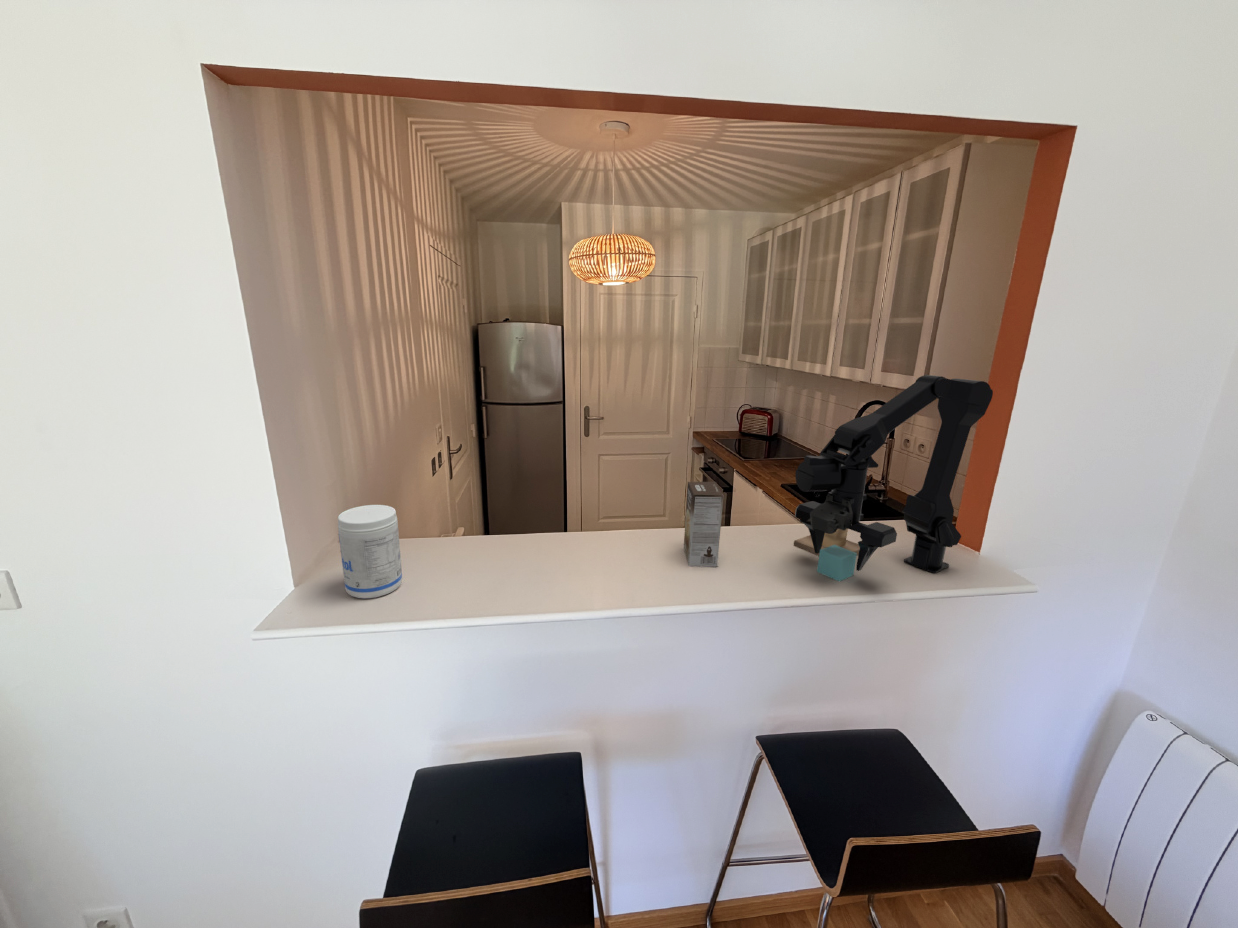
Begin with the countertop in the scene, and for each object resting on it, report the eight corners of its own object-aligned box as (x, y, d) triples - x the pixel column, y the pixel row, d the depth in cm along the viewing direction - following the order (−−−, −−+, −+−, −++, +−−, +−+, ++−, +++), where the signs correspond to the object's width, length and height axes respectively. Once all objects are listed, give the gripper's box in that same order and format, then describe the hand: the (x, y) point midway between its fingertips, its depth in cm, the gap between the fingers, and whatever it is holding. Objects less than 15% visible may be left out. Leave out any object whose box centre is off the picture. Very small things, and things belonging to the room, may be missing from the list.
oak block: (825, 537, 116) (828, 517, 115) (845, 545, 112) (848, 524, 111) (812, 541, 113) (815, 521, 112) (832, 549, 109) (835, 528, 108)
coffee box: (682, 548, 111) (686, 480, 107) (710, 549, 111) (715, 481, 107) (688, 567, 102) (693, 493, 98) (718, 567, 102) (725, 494, 98)
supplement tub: (337, 588, 90) (326, 513, 87) (388, 570, 97) (380, 500, 94) (360, 606, 84) (350, 527, 81) (413, 586, 92) (406, 512, 88)
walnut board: (821, 538, 120) (822, 530, 120) (864, 554, 112) (865, 546, 111) (793, 548, 114) (794, 540, 114) (836, 566, 105) (838, 558, 105)
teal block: (831, 566, 104) (834, 544, 103) (853, 575, 100) (856, 553, 99) (816, 571, 102) (820, 549, 100) (838, 581, 98) (842, 558, 96)
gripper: (782, 482, 99) (774, 553, 103) (871, 510, 84) (858, 591, 88) (815, 475, 105) (807, 542, 109) (904, 499, 90) (890, 576, 94)
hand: (837, 561), depth 100 cm, fingers open, 9 cm apart
